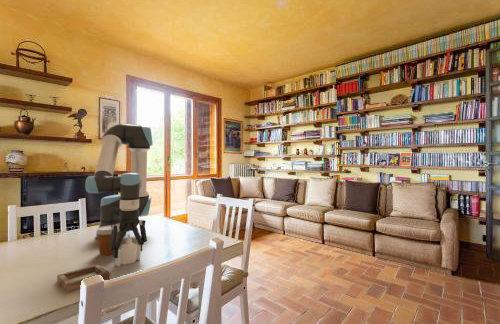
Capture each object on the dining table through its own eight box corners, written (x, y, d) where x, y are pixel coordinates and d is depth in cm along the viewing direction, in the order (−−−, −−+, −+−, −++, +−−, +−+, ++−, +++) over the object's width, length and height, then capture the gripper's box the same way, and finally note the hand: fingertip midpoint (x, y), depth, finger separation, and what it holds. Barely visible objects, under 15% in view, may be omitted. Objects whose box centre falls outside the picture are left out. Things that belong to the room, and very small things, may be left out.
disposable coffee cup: (94, 258, 111) (95, 231, 111) (96, 251, 120) (97, 226, 120) (118, 255, 116) (119, 229, 116) (119, 248, 124) (119, 224, 124)
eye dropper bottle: (123, 260, 109) (124, 233, 109) (136, 260, 110) (137, 233, 110) (119, 264, 105) (119, 236, 105) (132, 264, 105) (133, 236, 105)
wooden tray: (57, 282, 89) (57, 275, 89) (97, 270, 99) (97, 264, 99) (67, 292, 82) (67, 285, 82) (109, 278, 92) (109, 272, 92)
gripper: (107, 213, 97) (105, 272, 97) (156, 207, 113) (155, 257, 113) (99, 211, 102) (98, 267, 101) (147, 205, 118) (146, 253, 118)
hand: (128, 262), depth 107 cm, fingers open, 8 cm apart
